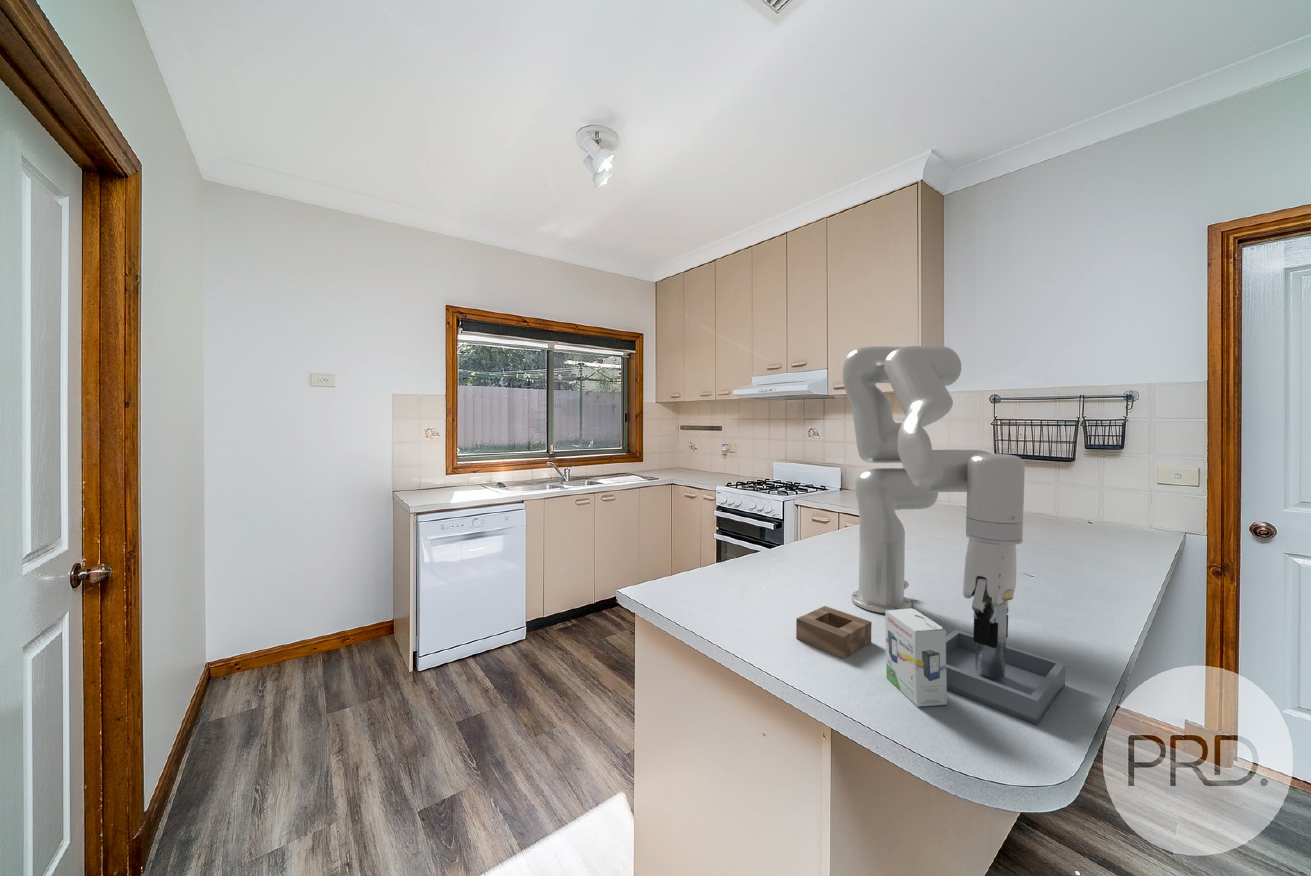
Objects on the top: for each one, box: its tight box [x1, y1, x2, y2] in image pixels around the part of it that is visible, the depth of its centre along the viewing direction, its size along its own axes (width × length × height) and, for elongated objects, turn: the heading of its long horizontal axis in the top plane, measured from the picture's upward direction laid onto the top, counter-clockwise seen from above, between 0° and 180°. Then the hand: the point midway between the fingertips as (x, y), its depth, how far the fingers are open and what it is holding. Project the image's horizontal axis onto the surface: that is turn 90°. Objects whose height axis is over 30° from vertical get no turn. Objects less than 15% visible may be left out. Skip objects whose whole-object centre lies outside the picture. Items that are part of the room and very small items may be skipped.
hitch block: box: [795, 605, 872, 659], centre depth 92 cm, size 10×10×4 cm
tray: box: [946, 629, 1067, 726], centre depth 78 cm, size 16×16×4 cm
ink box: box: [884, 608, 948, 707], centre depth 75 cm, size 9×5×12 cm, turn 5°
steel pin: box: [973, 589, 1015, 678], centre depth 78 cm, size 6×6×14 cm
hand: (990, 638), depth 78 cm, fingers closed on steel pin, 4 cm apart
